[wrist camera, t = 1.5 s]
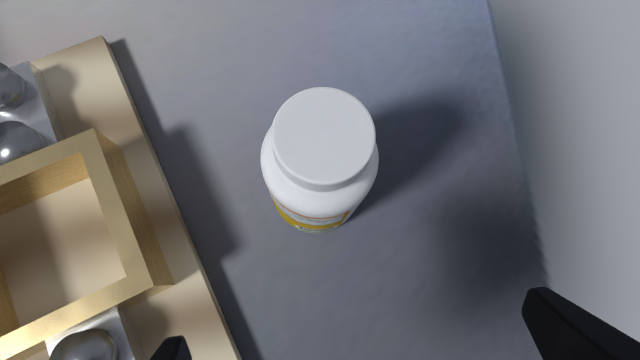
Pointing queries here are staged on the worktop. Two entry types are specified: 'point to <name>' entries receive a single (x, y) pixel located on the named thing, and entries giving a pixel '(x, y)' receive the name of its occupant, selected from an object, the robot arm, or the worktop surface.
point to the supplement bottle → (319, 158)
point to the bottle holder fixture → (118, 209)
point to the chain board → (90, 225)
